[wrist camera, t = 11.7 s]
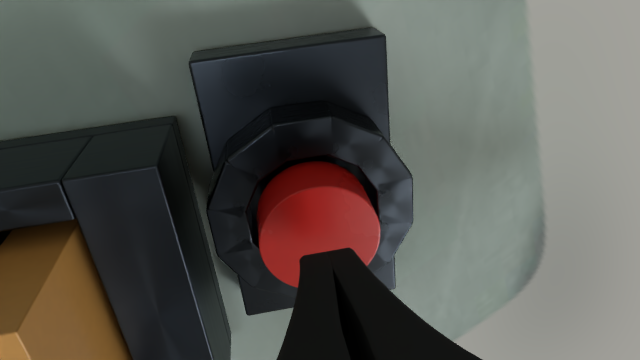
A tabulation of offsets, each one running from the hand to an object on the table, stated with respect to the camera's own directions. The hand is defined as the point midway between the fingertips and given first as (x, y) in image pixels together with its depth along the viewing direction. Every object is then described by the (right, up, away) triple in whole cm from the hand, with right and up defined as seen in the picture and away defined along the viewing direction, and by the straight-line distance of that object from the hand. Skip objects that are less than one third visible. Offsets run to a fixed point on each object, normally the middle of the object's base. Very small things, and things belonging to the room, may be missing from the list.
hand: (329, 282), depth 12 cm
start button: (0, +2, +3) cm, 4 cm away
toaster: (-9, 0, +6) cm, 10 cm away
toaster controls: (-1, +3, +5) cm, 6 cm away
